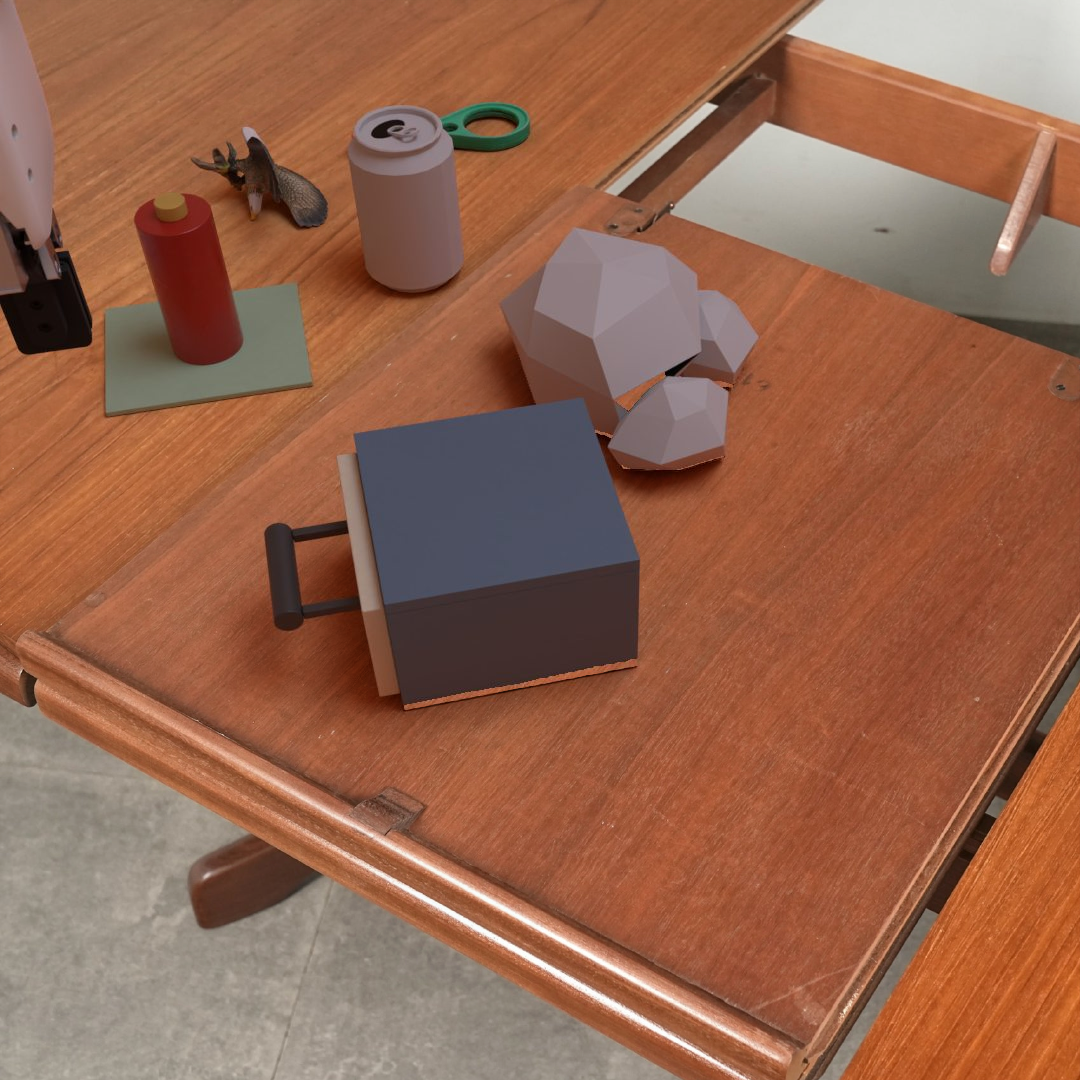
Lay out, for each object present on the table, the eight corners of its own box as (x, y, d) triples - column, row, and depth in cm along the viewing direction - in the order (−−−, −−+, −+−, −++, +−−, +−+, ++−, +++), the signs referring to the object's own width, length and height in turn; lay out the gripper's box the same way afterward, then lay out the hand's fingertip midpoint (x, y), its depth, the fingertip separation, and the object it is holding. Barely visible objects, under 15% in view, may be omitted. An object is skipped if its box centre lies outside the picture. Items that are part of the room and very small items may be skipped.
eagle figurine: (187, 212, 108) (274, 224, 104) (191, 116, 106) (279, 125, 102) (255, 219, 115) (340, 231, 111) (260, 130, 113) (346, 138, 109)
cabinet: (404, 711, 77) (384, 604, 71) (373, 542, 86) (353, 433, 79) (637, 667, 80) (640, 559, 73) (585, 506, 88) (583, 396, 81)
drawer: (293, 713, 76) (268, 628, 71) (275, 556, 84) (251, 468, 79) (596, 656, 79) (595, 570, 73) (551, 509, 87) (547, 421, 81)
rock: (756, 312, 102) (767, 196, 94) (756, 501, 89) (769, 384, 81) (511, 301, 102) (503, 186, 95) (476, 487, 89) (464, 370, 82)
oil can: (173, 370, 97) (130, 226, 88) (171, 327, 100) (129, 184, 91) (245, 359, 97) (209, 216, 89) (241, 317, 100) (206, 175, 92)
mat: (106, 417, 94) (105, 412, 94) (106, 313, 101) (104, 308, 101) (313, 386, 96) (312, 381, 96) (297, 286, 104) (296, 282, 103)
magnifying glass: (520, 110, 121) (519, 91, 119) (538, 144, 117) (537, 126, 116) (348, 136, 118) (345, 118, 116) (362, 173, 114) (359, 154, 113)
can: (411, 230, 109) (392, 87, 99) (484, 263, 106) (473, 118, 97) (346, 276, 104) (321, 130, 95) (421, 311, 102) (402, 165, 93)
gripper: (-185, -150, 53) (-19, 258, 67) (-248, 30, 43) (-39, 462, 57) (18, -167, 54) (139, 237, 68) (1, 4, 44) (146, 434, 58)
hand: (57, 339), depth 62 cm, fingers closed
